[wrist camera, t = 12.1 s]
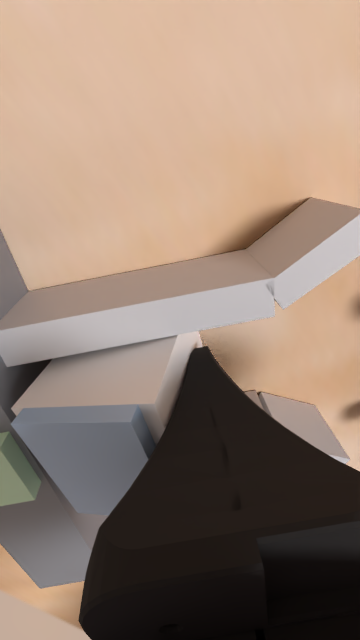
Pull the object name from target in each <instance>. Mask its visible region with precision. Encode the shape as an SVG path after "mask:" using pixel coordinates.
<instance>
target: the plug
mask: <svg viewBox="0 0 360 640" xmlns="http://www.w3.org/2000/svg"><path fill="white" fill-rule="evenodd" d="M200 347H203V346H202V342H201V338H200V334H199V331H195V332H190V333H185V334H179V335H174V336H169V337H164V338H158V339H153V340H148V341H142V342H137V343H132V344H127V345H121V346H116V347H111V348H105V349H100V350H95V351H90V352H84V353H79V354H74V355H68V356H63V357H58V358H53V359H52V361H51V362H50V363H49V364H48V365H47V367H46V368H45V369H44V370H43V371H42V372H41V374H40V375H39V376H38V377H37V378H36V379H35V381H34V382H33V383H32V384H31V385H30V387H29V388H28V389H27V390H26V391H25V392H24V394H23V395H22V396H21V397H20V398H19V400H18V401H17V402H16V403H15V404H14V405H13V407H12V408H11V409H12V411H13V412H14V414H15V415H16V416H17V417H16V418H15V419H14V420H13V422H12V423H11V425H12V427H13V428H14V429H15V431H16V432H17V433H18V435H19V436H20V437H21V439H22V440H23V441H24V443H25V444H26V445H27V447H28V448H29V449H30V451H31V452H32V453H33V455H34V456H35V457H36V458H37V460H38V461H39V462H40V464H41V465H42V466H43V468H44V469H45V470H46V472H47V473H48V474H49V476H50V477H51V478H52V480H53V481H54V482H55V484H56V485H57V486H58V488H59V489H60V490H61V492H62V493H63V494H64V496H65V497H66V498H67V499H68V501H69V502H70V503H71V505H72V506H73V507H74V509H75V510H76V511H77V513H84V514H96V515H108V516H109V514H110V513H111V512H112V510H113V509H114V508H115V507H116V505H117V504H118V503H119V501H120V500H121V499H122V498H123V496H124V495H125V494H126V492H127V491H128V489H129V488H130V487H131V485H132V484H133V482H134V481H135V479H136V478H137V476H138V475H139V473H140V472H141V470H142V469H143V467H144V466H145V464H146V463H147V461H148V459H149V458H150V456H151V454H152V453H153V451H154V449H155V447H156V446H157V444H158V442H159V440H160V438H161V436H162V435H163V433H164V431H165V428H166V426H167V424H168V422H169V420H170V418H171V415H172V413H173V411H174V408H175V405H176V403H177V400H178V397H179V394H180V392H181V388H182V385H183V381H184V378H185V374H186V369H187V364H188V361H189V358H190V354H191V352H192V351H193V349H194V348H200Z"/></svg>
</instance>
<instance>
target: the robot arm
mask: <svg viewBox="0 0 360 640" xmlns="http://www.w3.org/2000/svg"><path fill="white" fill-rule="evenodd" d="M79 622H80V624H81V626H82V628H83V630H84V631H85V633H86V634H87V635H88V636H89V637H90V638H91V639H92V640H360V472H359V471H357V470H355V469H354V468H352V467H350V466H348V465H346V464H344V463H342V462H340V461H338V460H336V459H334V458H333V457H331V456H329V455H328V454H326V453H324V452H323V451H321V450H319V449H318V448H316V447H314V446H313V445H311V444H310V443H308V442H307V441H305V440H304V439H302V438H301V437H299V436H298V435H296V434H295V433H293V432H292V431H290V430H289V429H287V428H286V427H284V426H283V425H282V424H280V423H279V422H278V421H277V420H275V419H274V418H273V417H271V416H270V415H269V414H268V413H266V412H265V411H264V410H263V409H262V408H260V407H259V406H258V405H257V404H256V403H255V402H254V401H253V400H251V399H250V398H249V397H248V396H247V395H246V394H245V393H244V392H243V391H242V390H241V389H240V388H239V387H238V386H237V385H236V384H235V383H234V381H233V380H232V379H231V378H230V377H229V376H228V375H227V374H226V372H225V371H224V370H223V369H222V368H221V366H220V365H219V364H218V362H217V361H216V360H215V358H214V357H213V355H212V353H211V352H210V350H209V348H208V346H205V347H200V348H194V349H193V351H192V352H191V354H190V358H189V361H188V364H187V369H186V374H185V378H184V381H183V385H182V388H181V392H180V394H179V397H178V400H177V403H176V405H175V408H174V411H173V413H172V415H171V418H170V420H169V422H168V424H167V426H166V428H165V431H164V433H163V435H162V436H161V438H160V440H159V442H158V444H157V446H156V447H155V449H154V451H153V453H152V454H151V456H150V458H149V459H148V461H147V463H146V464H145V466H144V467H143V469H142V470H141V472H140V473H139V475H138V476H137V478H136V479H135V481H134V482H133V484H132V485H131V487H130V488H129V489H128V491H127V492H126V494H125V495H124V496H123V498H122V499H121V500H120V501H119V503H118V504H117V505H116V507H115V508H114V509H113V510H112V512H111V513H110V514H109V516H108V517H107V518H106V519H105V521H104V522H103V523H102V524H101V526H100V527H99V530H98V532H97V535H96V539H95V542H94V545H93V548H92V552H91V556H90V559H89V563H88V567H87V571H86V575H85V582H84V588H83V595H82V602H81V608H80V615H79Z"/></svg>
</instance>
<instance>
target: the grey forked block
mask: <svg viewBox="0 0 360 640" xmlns="http://www.w3.org/2000/svg"><path fill="white" fill-rule="evenodd" d="M358 256H360V209H359V208H355V207H350V206H346V205H342V204H338V203H333V202H329V201H325V200H321V199H316V198H312V197H310V198H309V199H308V200H307V201H305V202H304V203H303V204H302V205H300V206H299V207H298V208H297V209H295V210H294V211H293V212H292V213H290V214H289V215H288V216H287V217H285V218H284V219H283V220H282V221H280V222H279V223H278V224H277V225H275V226H274V227H273V228H272V229H270V230H269V231H268V232H267V233H265V234H264V235H263V236H262V237H260V238H259V239H258V240H257V241H255V242H254V243H253V244H252V245H250V246H249V247H248V248H247V249H244V250H238V251H233V252H228V253H223V254H218V255H213V256H208V257H202V258H197V259H192V260H187V261H182V262H177V263H172V264H166V265H161V266H156V267H151V268H146V269H141V270H136V271H131V272H125V273H120V274H115V275H110V276H105V277H100V278H95V279H89V280H84V281H79V282H74V283H69V284H64V285H59V286H53V287H48V288H43V289H38V290H33V291H28V290H27V287H26V285H25V283H24V281H23V278H22V276H21V274H20V272H19V270H18V267H17V265H16V263H15V261H14V259H13V256H12V254H11V252H10V250H9V248H8V245H7V243H6V241H5V239H4V237H3V234H2V232H1V230H0V544H1V545H2V546H3V547H4V548H5V549H6V551H7V552H8V553H9V554H10V555H11V556H12V557H13V559H14V560H15V561H16V562H17V563H18V564H19V565H20V566H21V568H22V569H23V570H24V571H25V572H26V573H27V574H28V575H29V577H30V578H31V579H32V580H33V581H34V582H35V583H36V585H37V586H38V587H39V588H46V587H52V586H57V585H63V584H69V583H75V582H80V581H85V575H86V571H87V567H88V563H89V559H90V556H91V552H92V548H93V545H94V542H95V539H96V535H97V532H98V530H99V527H100V526H101V524H102V523H103V522H104V521H105V519H106V518H107V517H108V515H96V514H84V513H77V511H76V510H75V509H74V507H73V506H72V505H71V503H70V502H69V501H68V499H67V498H66V497H65V496H64V494H63V493H62V492H61V490H60V489H59V488H58V486H57V485H56V484H55V482H54V481H53V480H52V478H51V477H50V476H49V474H48V473H47V472H46V470H45V469H44V468H43V466H42V465H41V464H40V462H39V461H38V460H37V458H36V457H35V456H34V455H33V453H32V452H31V451H30V449H29V448H28V447H27V445H26V444H25V443H24V441H23V440H22V439H21V437H20V436H19V435H18V433H17V432H16V431H15V429H14V428H13V427H12V425H11V423H12V422H13V420H14V419H15V418H16V417H17V416H16V415H15V414H14V412H13V411H12V409H11V408H12V407H13V405H14V404H15V403H16V402H17V401H18V400H19V398H20V397H21V396H22V395H23V394H24V392H25V391H26V390H27V389H28V388H29V387H30V385H31V384H32V383H33V382H34V381H35V379H36V378H37V377H38V376H39V375H40V374H41V372H42V371H43V370H44V369H45V368H46V367H47V365H48V364H49V363H50V362H51V361H52V359H53V358H58V357H63V356H68V355H74V354H79V353H84V352H90V351H95V350H100V349H105V348H111V347H116V346H121V345H127V344H132V343H137V342H142V341H148V340H153V339H158V338H164V337H169V336H174V335H179V334H185V333H190V332H195V331H200V330H206V329H211V328H216V327H222V326H227V325H232V324H237V323H243V322H248V321H253V320H259V319H264V318H269V317H274V316H275V306H274V299H275V301H276V302H277V303H278V304H279V305H280V306H281V308H282V309H283V310H284V309H285V308H286V307H288V306H289V305H291V304H292V303H293V302H295V301H296V300H298V299H299V298H301V297H302V296H303V295H305V294H306V293H308V292H309V291H310V290H312V289H313V288H315V287H316V286H317V285H319V284H320V283H322V282H323V281H325V280H326V279H327V278H329V277H330V276H332V275H333V274H334V273H336V272H337V271H339V270H340V269H341V268H343V267H344V266H346V265H347V264H348V263H350V262H351V261H353V260H354V259H356V258H357V257H358ZM244 393H245V394H246V395H247V396H248V397H249V398H250V399H251V400H253V401H254V402H255V403H256V404H257V405H258V406H259V407H260V408H262V409H263V410H264V411H265V412H266V413H268V414H269V415H270V416H271V417H273V418H274V419H275V420H277V421H278V422H279V423H280V424H282V425H283V426H284V427H286V428H287V429H289V430H290V431H292V432H293V433H295V434H296V435H298V436H299V437H301V438H302V439H304V440H305V441H307V442H308V443H310V444H311V445H313V446H314V447H316V448H318V449H319V450H321V451H323V452H324V453H326V454H328V455H329V456H331V457H333V458H334V459H336V460H338V461H340V462H342V463H344V464H346V463H347V462H348V461H349V460H350V458H349V457H348V455H347V454H346V452H345V451H344V449H343V448H342V446H341V444H340V443H339V441H338V440H337V438H336V437H335V435H334V434H333V432H332V431H331V429H330V428H329V426H328V424H327V423H326V421H325V420H324V418H323V417H322V415H321V414H320V412H319V411H318V409H317V408H316V406H315V405H312V404H308V403H304V402H300V401H296V400H292V399H288V398H284V397H280V396H275V395H271V394H267V393H263V392H261V393H260V394H259V396H258V395H257V393H256V390H254V391H248V392H244Z"/></svg>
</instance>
